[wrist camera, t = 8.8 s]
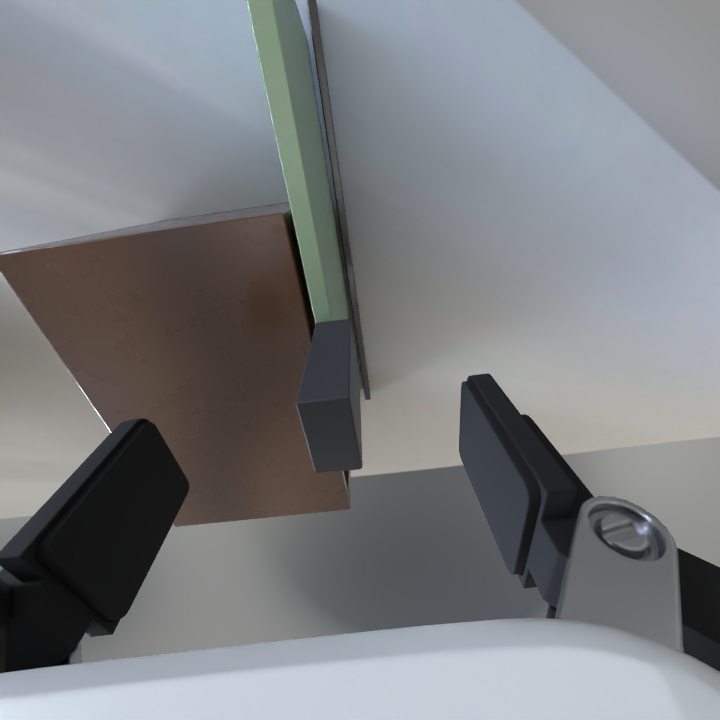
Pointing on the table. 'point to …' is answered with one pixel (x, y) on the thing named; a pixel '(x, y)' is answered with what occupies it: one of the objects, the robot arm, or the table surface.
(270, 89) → the sliding door
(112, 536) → the robot arm
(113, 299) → the cabinet
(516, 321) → the table surface
